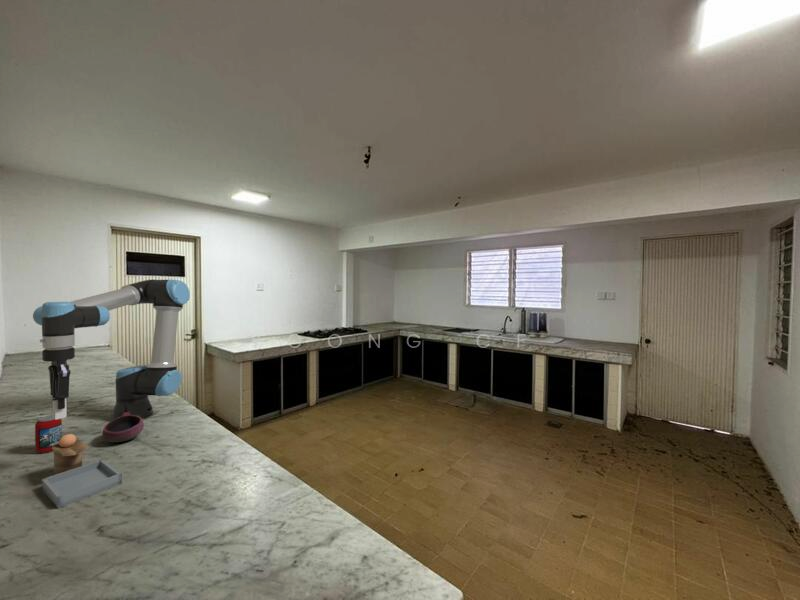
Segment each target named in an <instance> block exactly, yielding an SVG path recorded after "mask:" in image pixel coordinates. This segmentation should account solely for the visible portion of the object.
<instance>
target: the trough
mask: <svg viewBox="0 0 800 600" xmlns="http://www.w3.org/2000/svg"><path fill="white" fill-rule="evenodd" d="M89 449H90V446H89V445H87V444H85V443H84V442H82V441H81V440H79V438H78V437H76V442H75V443H74V444H73V445H72V446H70V447H61V446H60V445H59V443H58V444H54V445H52V450H54V451H53V469H54V470H53V472H54V474H53V475H56V474H59V473H62V472H65V471H68V470H71V469H74V468H77V467H80V466H83V452H84V451H87V450H89Z"/></svg>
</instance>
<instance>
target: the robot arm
mask: <svg viewBox="0 0 800 600" xmlns="http://www.w3.org/2000/svg"><path fill="white" fill-rule="evenodd" d="M190 297H191V294H190V289H189V287H188V285H187V284H186V283H185V282H183V281H182V280H179V279H145V280H141V281H136V282H134V283H130V284H125V285H123V286H122V287H121V288H119V289H114V290H111V291H108V292H102V293H99V294H95V295H92V296H89V297H88V296H87V297H84V298H83V297H82V298H79V299H75V300H72V301H48V302H44V303H42V305H41V306H38V307H37V308H36V309H35V310H34V311H33V313H32V318H33V321H34V322H35V323H36V324H37V325H39V326H41V334H42V336H41V337H42V339H39V342H40V343H42V345H41V346H42V348H43V350H42V351H41V352H42V353H41V355H42V356H41V357H42V361H43V362H49V363H50V362H51V363H50V365H49V366H48V368H47V369H48V373H49V374H48V375H49V386H50V387H49V388H50V395H51V397H52V415H53V418H55V420H56V419H61V420H62V419H64V418H65V419H66V418H67V417H68V416H67V415H68V414H67V411H68V410H67V399H68V398H69V396H70V395H69V394H70V375H71V369H70V366H69V364H68V363H67V361H68V360H72V359H74V358H75V356H76V355H75V351H76V349H75V347H74V346H76V345H75V343H76V342H75V340H76V339H75V329H81V328H91V327H95V328H97V327H100V326H101V327H102V326H104V325H107V323H108V322H109V321H110V319H111V317H110V316H111V313H110V311H112V310H116V309H119V308H123V307H125V306H135V305H141V304H150V305H151V304H152V308H153V309H154V310H155V311H156V312H155V313H156V314H155V321H154V332H153V342H152V350H151V360H150V363H149V364H143V365H135V366H130V367H125V368H122V369H119V370H117V372H116V373H115V379H114V380H115V405H114V407H113V409H112V412H111V414H110V415H111V416H110V417H111V418H110V420H111V421H112V420H114V419H116V418H118V417H121V416H122V414H123V413H125V412H129V413H130V414H131V415H136V416H139V417H141V418H142V419H143V420H144V419H145V418H149V417H150V416H152V414H153V412H154V408H153V406H152V404H151V403H152V402H151V401H150V399H149V396H153V397H154V396H155V397H164V396H167V397H168V396H171V395H173V394H174V393H176V391H177V390H178V389H179V388H180V386H181V383H182V381H183V375H182V373H181V371H179V370H178V369H177V368H178V365H177V364H176V363H175V362H174V361H175V349H176V341H177V331H178V323H179V322H178V319H179V312H180V311H182V310H183V309H184V308H183V307H184V305H185V304H187V303H188V301H190ZM111 421H110V422H111Z"/></svg>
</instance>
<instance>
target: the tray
mask: <svg viewBox="0 0 800 600" xmlns="http://www.w3.org/2000/svg"><path fill="white" fill-rule="evenodd" d="M122 477H123V475H122V473H121V471H119V470H118V469H117V468H115V467H114V466H112V465H111V464H110V463H108V462H106V460H104V459H102V458H101V459H98V460H96V461H93V462H90V463H87V464H84V465H83V464H82V466H80V467H77V468H74V469H71V470H68V471H65V472H62V473H59V474H56V475H54V474H52V475H50V476H47V477H45V478H42V479H41V490H42V491H43V493H44V494H45V495H46V496H47V497H48V498H49V499H50V501H51V502H52V503H53V504H54V505H55V506H56V508H57V509H60V508H63V507H65V506H68V505H70V504H73V503H76V502H78V501H80V500H83V499H86V498H89V497H91V496H94V495H96V494H99V493H102V492H104V491H106V490H110V489H112V488H113V487H114V488H115V487H116V486H119V485H121V484H123V478H122Z"/></svg>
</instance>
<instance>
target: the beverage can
mask: <svg viewBox="0 0 800 600" xmlns="http://www.w3.org/2000/svg"><path fill="white" fill-rule="evenodd" d="M62 422H63V421H62V418H61V419H56V420H55V418H53V414H52V415H51V414H50V415H46V416H42V417H40V418H38V419H37V420H36V422H35V424H34V442H35V452H36V453H40V454H45V453H46V454H47V453H50V452H54V450H52V445H54V444H58V443H59V440H60V438H61V437H63V423H62Z"/></svg>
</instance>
